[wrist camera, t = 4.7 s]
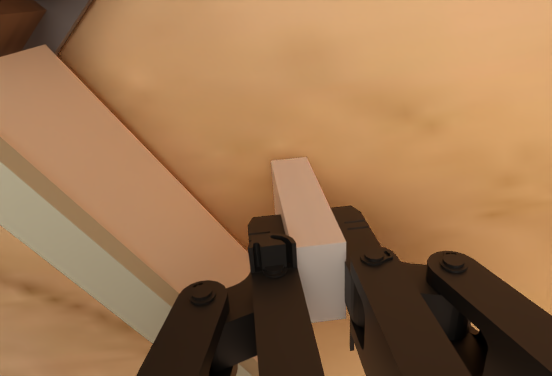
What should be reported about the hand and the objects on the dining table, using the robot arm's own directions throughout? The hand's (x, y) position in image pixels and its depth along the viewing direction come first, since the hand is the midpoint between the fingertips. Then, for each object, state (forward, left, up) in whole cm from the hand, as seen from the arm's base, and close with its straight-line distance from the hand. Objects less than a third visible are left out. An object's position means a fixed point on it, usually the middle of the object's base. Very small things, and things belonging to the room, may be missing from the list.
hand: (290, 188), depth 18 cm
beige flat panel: (-6, 0, -2) cm, 6 cm away
